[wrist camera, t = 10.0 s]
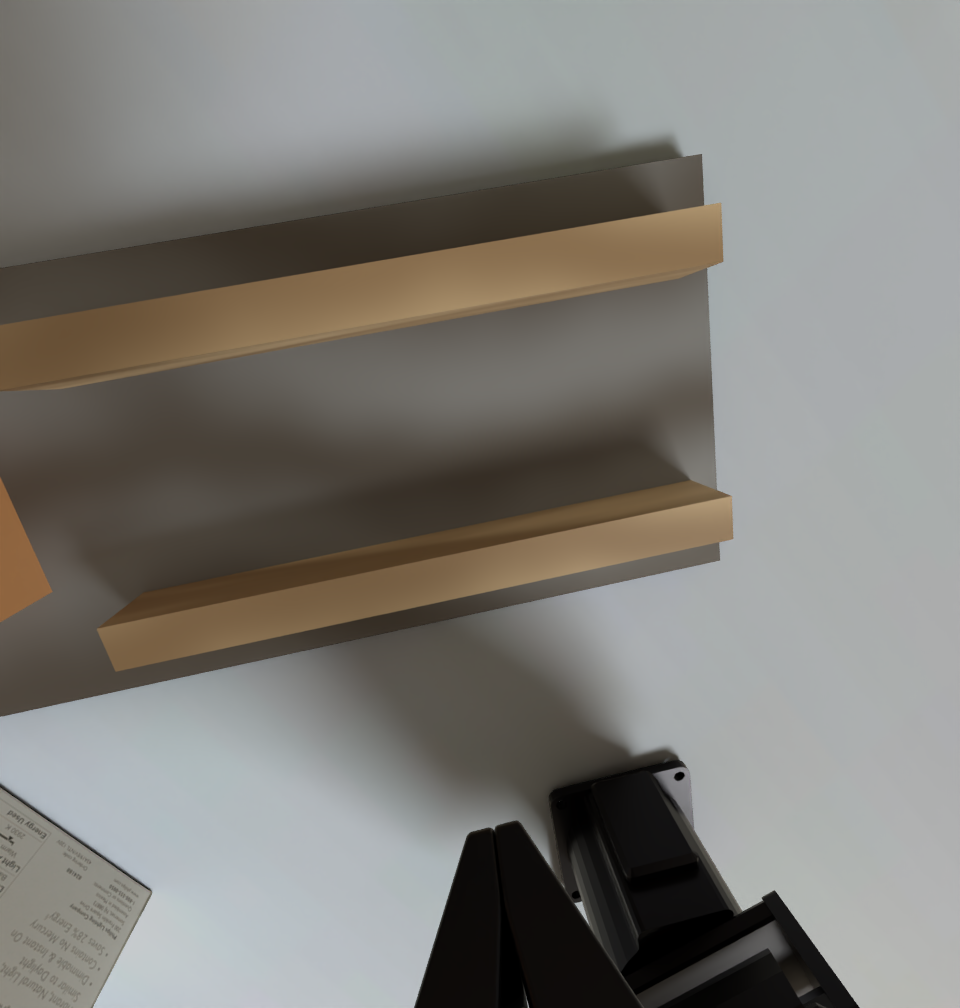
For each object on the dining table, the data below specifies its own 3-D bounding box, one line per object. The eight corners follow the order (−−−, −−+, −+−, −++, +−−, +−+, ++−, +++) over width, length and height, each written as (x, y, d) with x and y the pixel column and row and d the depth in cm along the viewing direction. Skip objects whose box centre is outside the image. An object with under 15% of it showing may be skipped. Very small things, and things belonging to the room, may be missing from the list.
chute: (708, 553, 20) (762, 587, 17) (-143, 736, 18) (-266, 815, 15) (688, 164, 16) (753, 112, 13) (-397, 342, 14) (-637, 333, 11)
